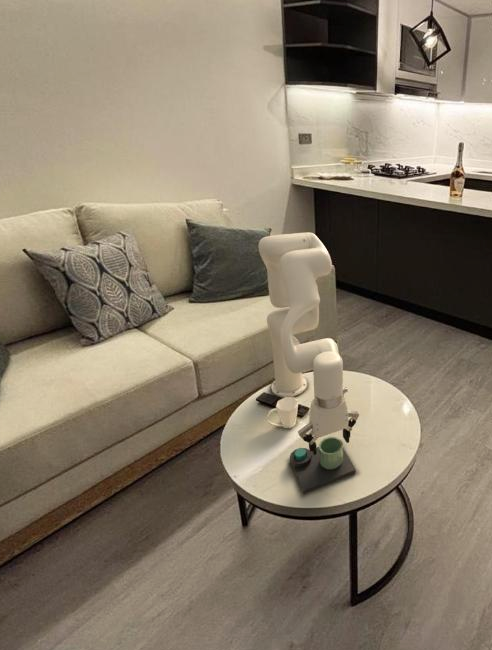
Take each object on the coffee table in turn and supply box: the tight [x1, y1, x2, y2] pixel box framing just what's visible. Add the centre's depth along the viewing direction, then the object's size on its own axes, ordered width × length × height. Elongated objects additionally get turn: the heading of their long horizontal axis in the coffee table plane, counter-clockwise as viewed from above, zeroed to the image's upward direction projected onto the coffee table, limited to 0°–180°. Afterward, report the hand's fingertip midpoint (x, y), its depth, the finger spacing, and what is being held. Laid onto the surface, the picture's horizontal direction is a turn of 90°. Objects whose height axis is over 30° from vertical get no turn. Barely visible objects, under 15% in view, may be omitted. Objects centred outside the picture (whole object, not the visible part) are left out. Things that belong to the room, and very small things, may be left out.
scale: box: [289, 446, 357, 495], centre depth 116 cm, size 14×16×3 cm
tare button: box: [295, 448, 306, 461], centre depth 116 cm, size 3×3×2 cm
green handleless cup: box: [318, 436, 344, 469], centre depth 115 cm, size 7×7×6 cm
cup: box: [266, 396, 299, 429], centre depth 130 cm, size 7×10×8 cm
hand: (330, 445), depth 115 cm, fingers open, 9 cm apart
